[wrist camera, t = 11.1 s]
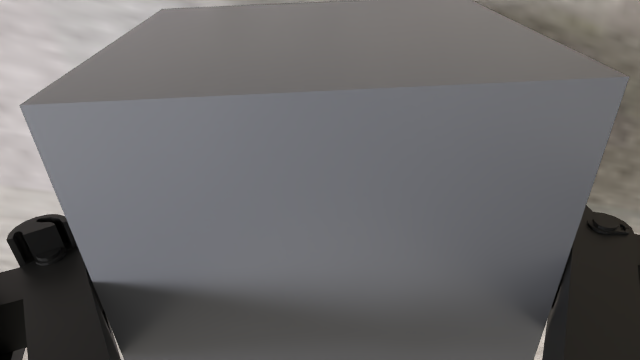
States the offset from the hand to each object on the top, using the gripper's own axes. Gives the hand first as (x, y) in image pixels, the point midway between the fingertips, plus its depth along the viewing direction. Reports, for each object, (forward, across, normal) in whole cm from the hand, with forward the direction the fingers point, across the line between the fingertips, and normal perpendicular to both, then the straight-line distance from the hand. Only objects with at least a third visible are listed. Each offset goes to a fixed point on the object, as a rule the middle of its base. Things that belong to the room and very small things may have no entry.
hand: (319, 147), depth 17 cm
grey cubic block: (+1, 0, 0) cm, 1 cm away
